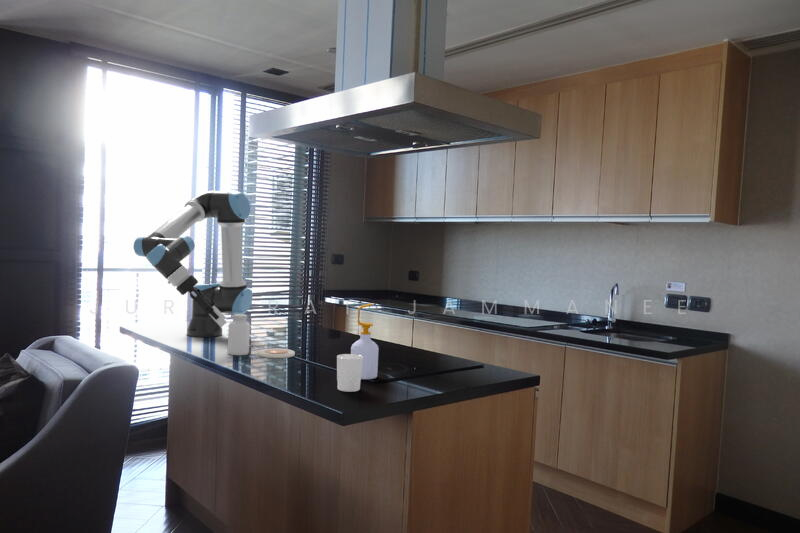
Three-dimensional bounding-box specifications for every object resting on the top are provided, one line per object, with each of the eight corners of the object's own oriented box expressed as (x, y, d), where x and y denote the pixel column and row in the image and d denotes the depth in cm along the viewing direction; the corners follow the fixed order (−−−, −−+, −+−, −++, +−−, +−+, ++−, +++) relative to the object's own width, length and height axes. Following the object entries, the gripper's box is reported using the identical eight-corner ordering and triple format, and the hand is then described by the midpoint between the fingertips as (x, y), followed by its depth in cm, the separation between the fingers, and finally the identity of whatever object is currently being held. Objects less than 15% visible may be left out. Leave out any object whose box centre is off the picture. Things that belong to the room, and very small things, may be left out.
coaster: (256, 351, 229) (256, 348, 229) (291, 351, 233) (292, 347, 233) (259, 358, 215) (259, 354, 215) (297, 358, 220) (297, 354, 220)
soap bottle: (377, 380, 190) (381, 305, 189) (349, 379, 189) (353, 304, 189) (376, 374, 199) (380, 302, 198) (350, 373, 198) (353, 301, 198)
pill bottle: (245, 356, 219) (247, 316, 218) (224, 355, 219) (226, 315, 218) (251, 352, 227) (253, 314, 226) (230, 351, 227) (232, 313, 226)
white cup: (356, 393, 171) (358, 359, 171) (331, 390, 173) (333, 357, 173) (365, 387, 179) (366, 355, 179) (341, 385, 181) (342, 353, 181)
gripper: (176, 285, 225) (215, 324, 231) (173, 290, 202) (216, 334, 207) (192, 272, 227) (230, 311, 232) (190, 275, 203) (232, 319, 208)
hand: (223, 322), depth 219 cm, fingers open, 13 cm apart
